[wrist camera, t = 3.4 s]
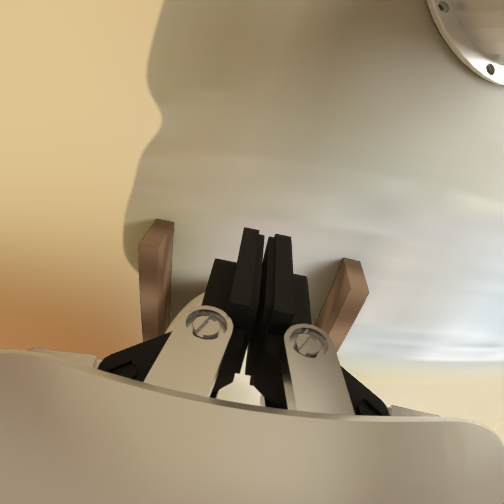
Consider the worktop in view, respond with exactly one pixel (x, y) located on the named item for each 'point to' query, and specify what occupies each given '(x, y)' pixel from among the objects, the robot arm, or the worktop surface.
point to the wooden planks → (159, 287)
